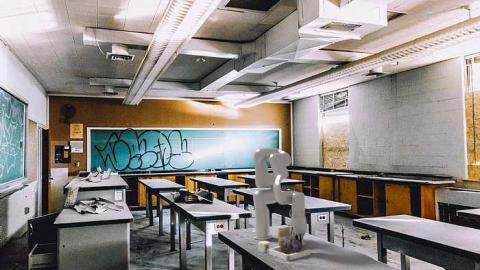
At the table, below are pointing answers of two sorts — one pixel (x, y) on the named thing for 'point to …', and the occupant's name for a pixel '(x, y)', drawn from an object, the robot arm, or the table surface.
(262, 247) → the letter cube
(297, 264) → the table surface
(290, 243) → the rock
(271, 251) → the corral
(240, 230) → the table surface
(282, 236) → the shelf
